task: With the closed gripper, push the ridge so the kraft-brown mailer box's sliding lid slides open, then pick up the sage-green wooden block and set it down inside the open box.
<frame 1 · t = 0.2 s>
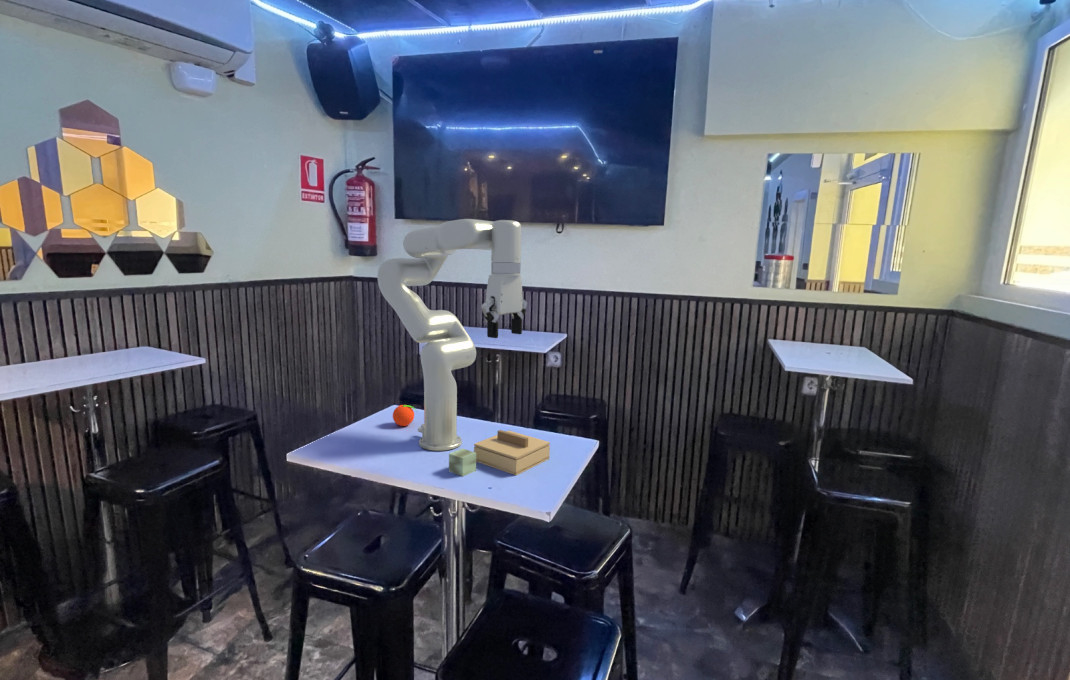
hand: (504, 335, 136), 36 cm above the table, tool pointing down, fingers open, 9 cm apart
mailer lid: (512, 439, 145), point 6 cm above the table, slide at 0.0 cm
clementine: (405, 426, 172), on the table
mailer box: (512, 459, 146), on the table
green block: (462, 471, 137), on the table
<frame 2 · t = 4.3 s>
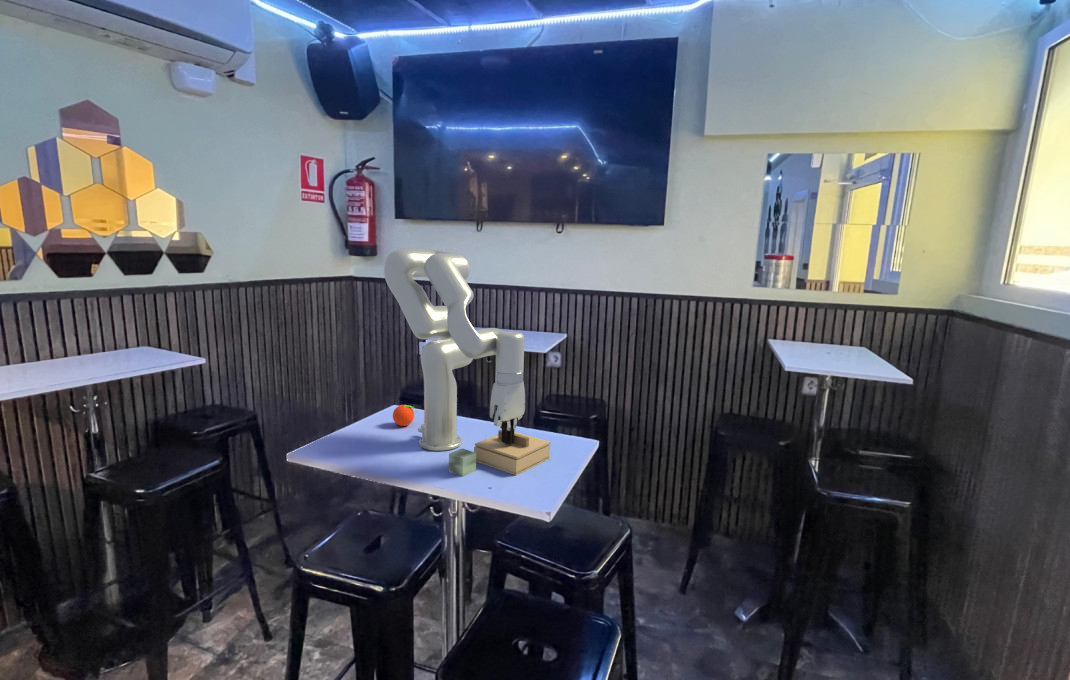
hand: (507, 442, 143), 6 cm above the table, tool pointing down, fingers closed
mailer lid: (513, 439, 145), point 6 cm above the table, slide at 0.4 cm, touching gripper
everything else where it was.
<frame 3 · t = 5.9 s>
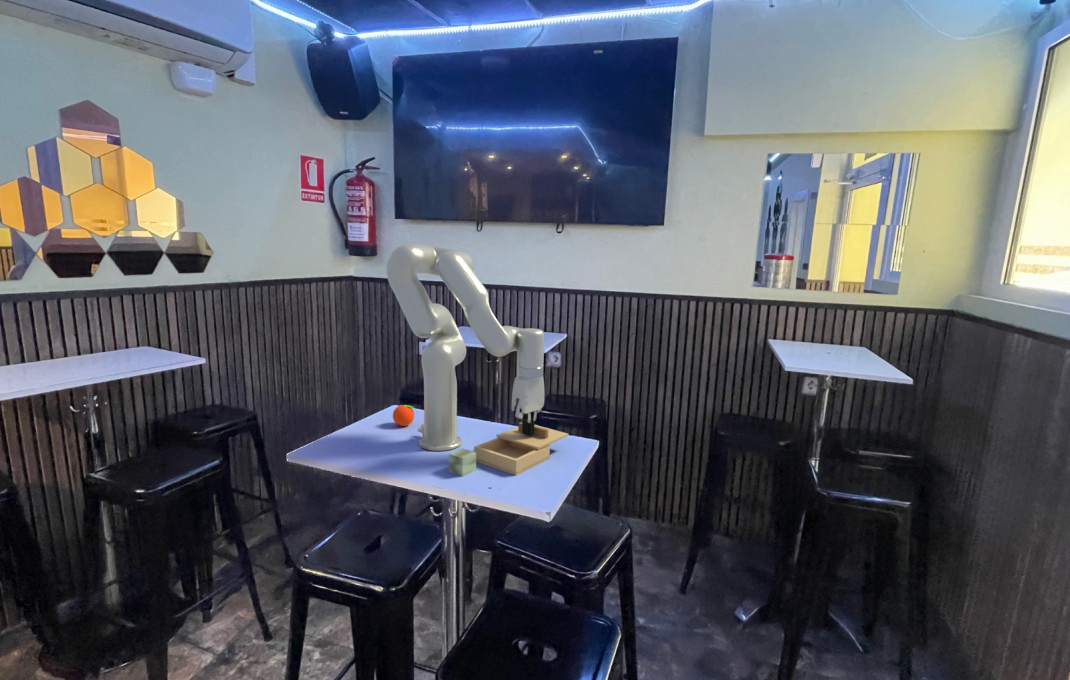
hand: (528, 434, 151), 6 cm above the table, tool pointing down, fingers closed
mailer lid: (533, 431, 152), point 6 cm above the table, slide at 9.5 cm, touching gripper
everything else where it was.
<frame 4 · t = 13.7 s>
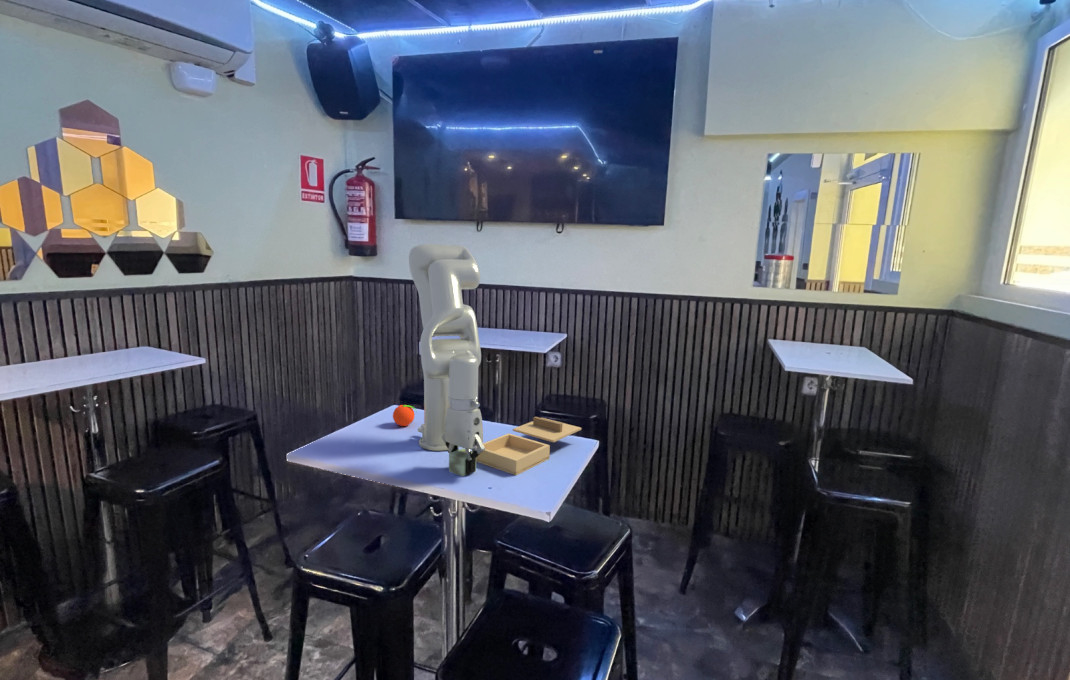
hand: (462, 469, 137), 0 cm above the table, tool pointing down, fingers closed on green block, 5 cm apart
mailer lid: (547, 425, 158), point 6 cm above the table, slide at 16.8 cm
green block: (462, 471, 137), on the table, touching gripper
everything else where it was.
when the fingers open (2 cm above the table, at t = 19.6 s): green block drops 1 cm, resting on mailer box.
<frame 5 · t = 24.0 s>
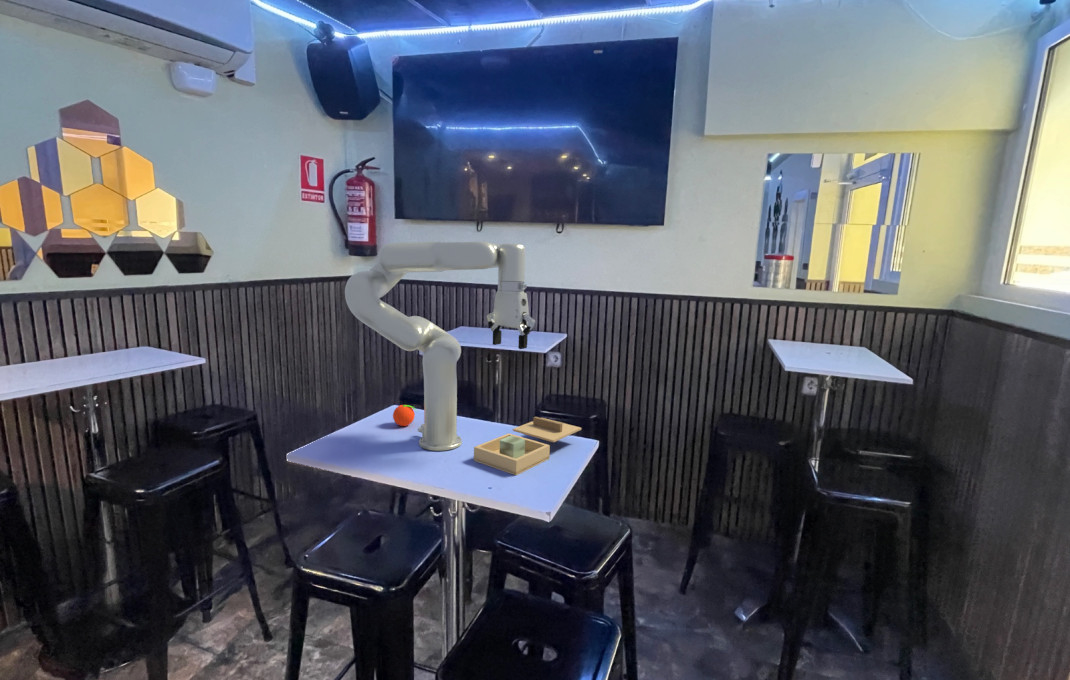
hand: (509, 346, 152), 30 cm above the table, tool pointing down, fingers open, 9 cm apart
green block: (512, 457, 146), point 1 cm above the table, touching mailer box
everything else where it was.
at the end: mailer lid slide at 16.8 cm; green block inside the target area on the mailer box (0.0 cm from its centre), point 0.8 cm above the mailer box's base; green block tilted 0° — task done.
